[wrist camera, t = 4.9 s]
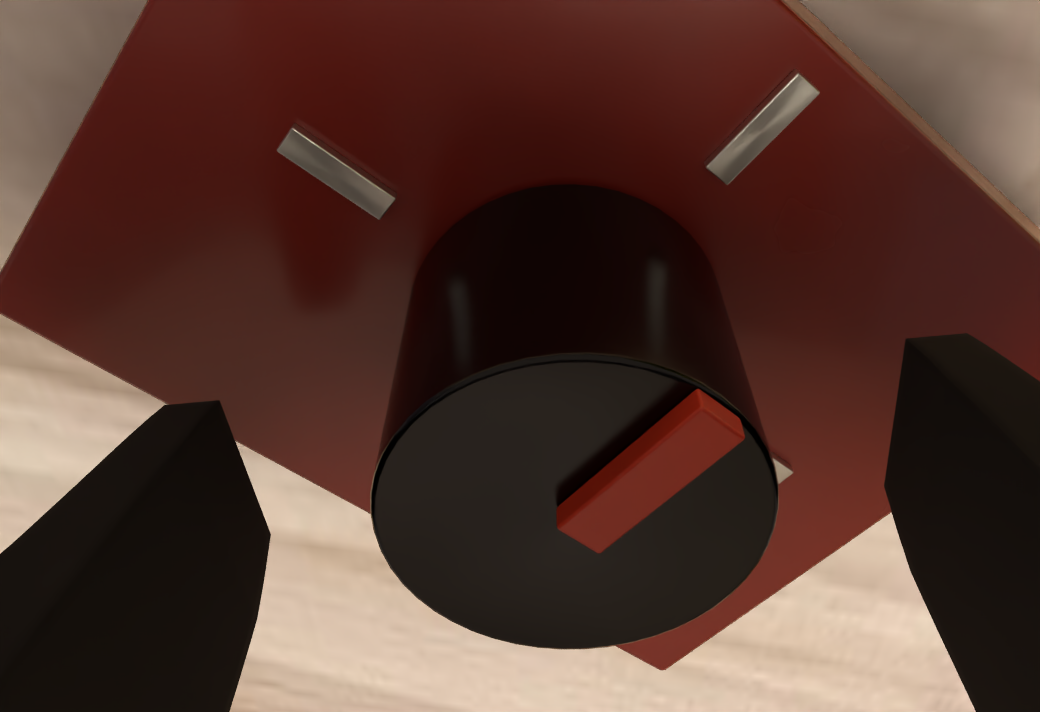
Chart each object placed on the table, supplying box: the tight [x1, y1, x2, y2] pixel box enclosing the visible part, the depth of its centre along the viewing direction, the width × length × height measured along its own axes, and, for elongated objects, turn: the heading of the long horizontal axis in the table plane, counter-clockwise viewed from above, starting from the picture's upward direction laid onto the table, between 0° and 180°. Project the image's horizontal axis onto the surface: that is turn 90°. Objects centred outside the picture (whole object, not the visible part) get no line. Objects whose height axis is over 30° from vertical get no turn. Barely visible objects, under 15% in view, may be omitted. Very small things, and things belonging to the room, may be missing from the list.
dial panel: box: [0, 0, 1040, 670], centre depth 13 cm, size 12×9×3 cm
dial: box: [370, 184, 779, 649], centre depth 11 cm, size 4×4×4 cm
